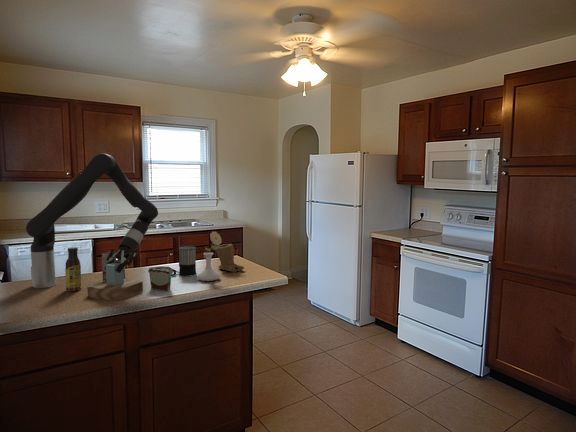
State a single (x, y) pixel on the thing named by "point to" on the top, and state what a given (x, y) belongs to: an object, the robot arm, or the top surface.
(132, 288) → the walnut block
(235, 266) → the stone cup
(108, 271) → the slate block
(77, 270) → the sauce bottle
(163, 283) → the food container
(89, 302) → the top surface
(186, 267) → the milk frother
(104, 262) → the coffee box
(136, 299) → the top surface
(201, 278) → the flower in vase
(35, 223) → the robot arm
